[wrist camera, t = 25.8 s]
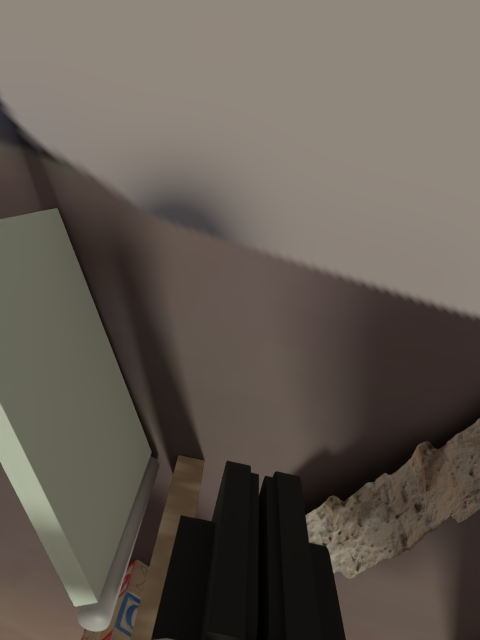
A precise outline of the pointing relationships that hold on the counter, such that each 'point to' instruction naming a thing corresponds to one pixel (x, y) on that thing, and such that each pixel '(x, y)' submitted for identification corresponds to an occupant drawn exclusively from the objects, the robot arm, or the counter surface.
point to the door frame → (167, 540)
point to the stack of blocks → (124, 606)
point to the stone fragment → (400, 505)
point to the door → (68, 417)
